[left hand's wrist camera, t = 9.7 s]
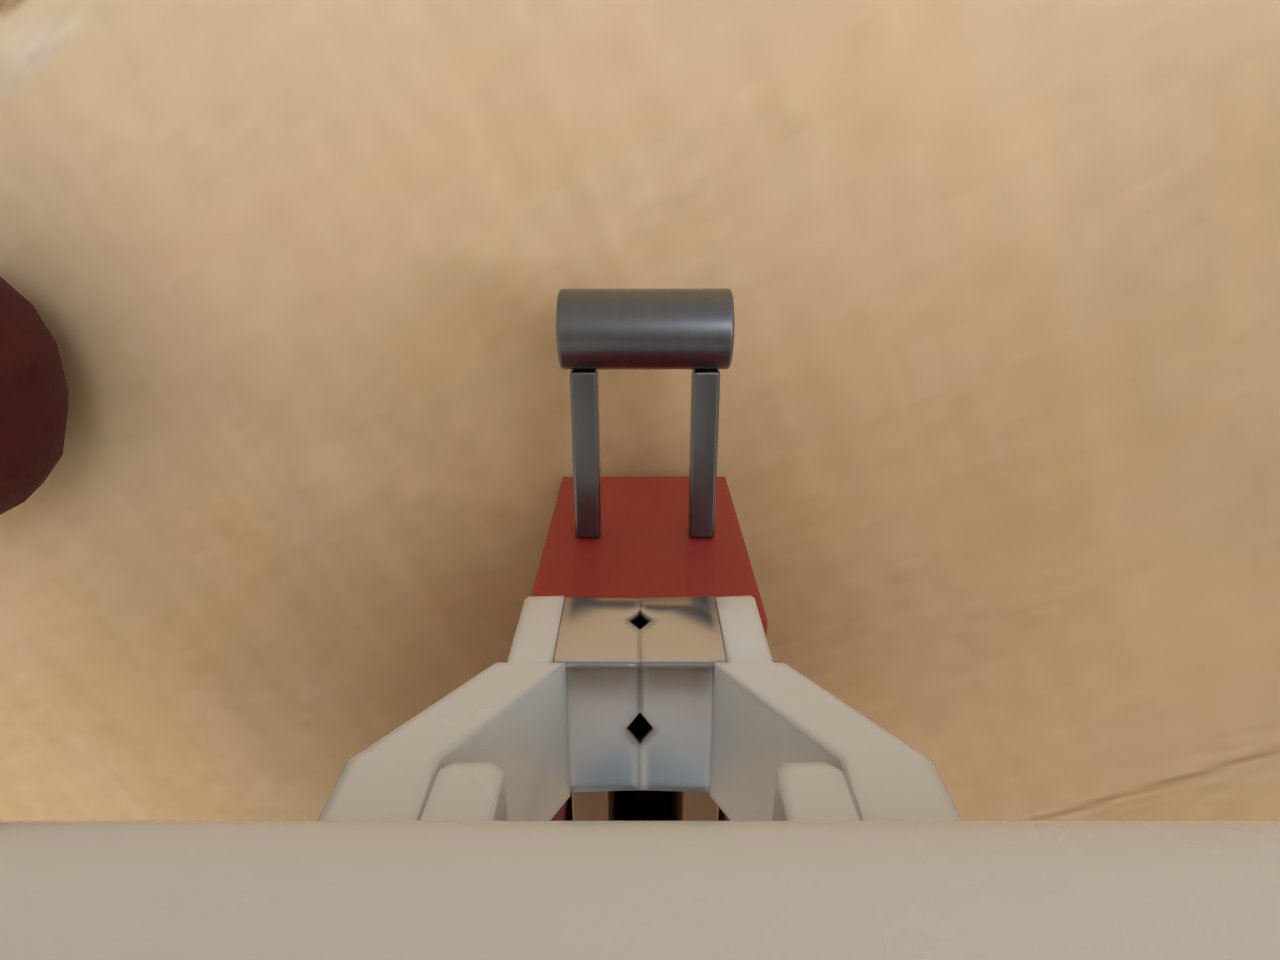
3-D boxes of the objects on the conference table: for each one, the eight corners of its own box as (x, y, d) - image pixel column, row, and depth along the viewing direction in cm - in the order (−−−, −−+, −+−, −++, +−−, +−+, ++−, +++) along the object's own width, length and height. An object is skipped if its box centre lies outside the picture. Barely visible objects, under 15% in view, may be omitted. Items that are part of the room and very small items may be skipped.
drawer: (554, 271, 20) (505, 318, 13) (734, 270, 20) (788, 318, 13) (581, 958, 29) (561, 1222, 22) (705, 958, 29) (728, 1222, 22)
